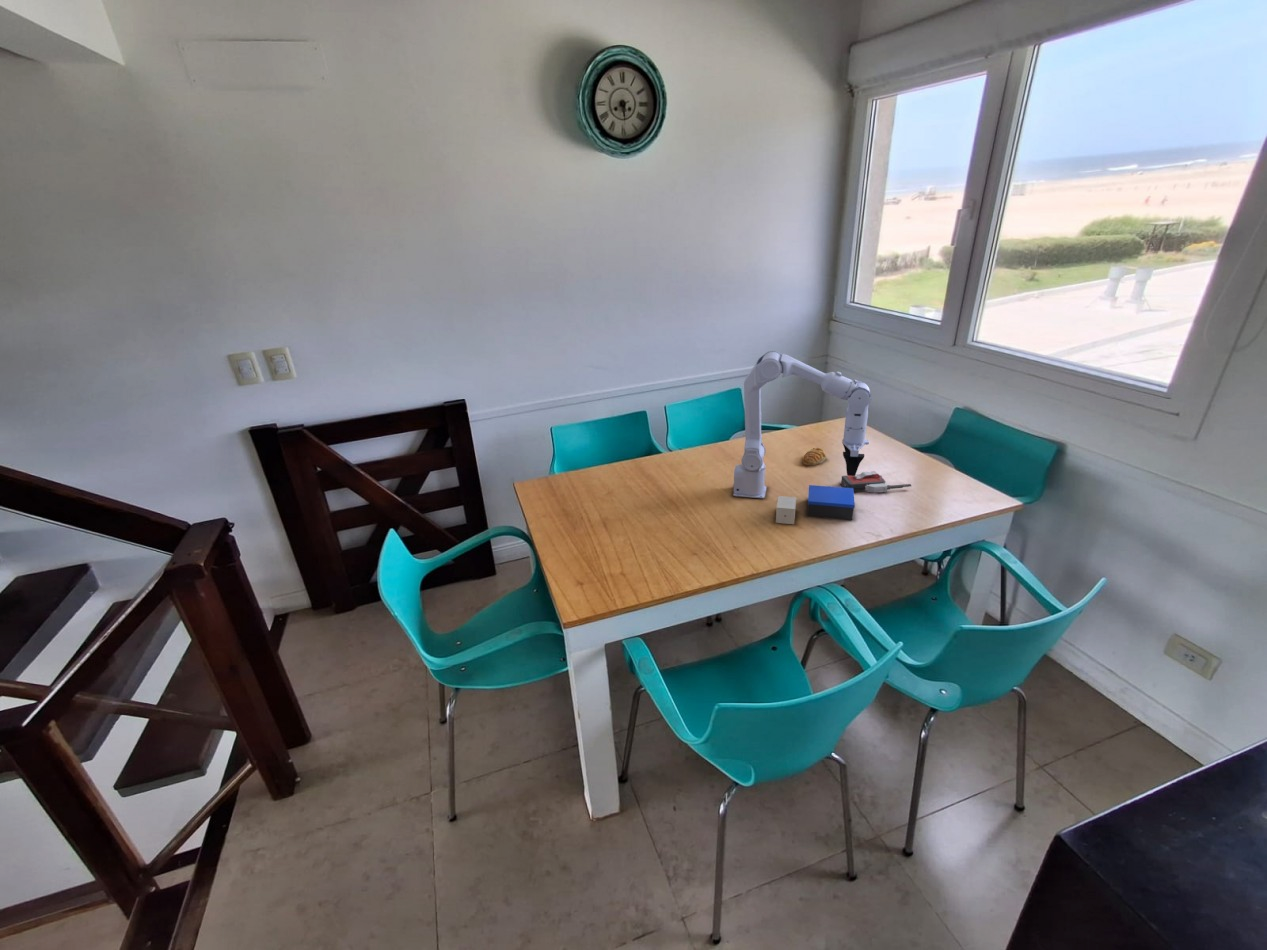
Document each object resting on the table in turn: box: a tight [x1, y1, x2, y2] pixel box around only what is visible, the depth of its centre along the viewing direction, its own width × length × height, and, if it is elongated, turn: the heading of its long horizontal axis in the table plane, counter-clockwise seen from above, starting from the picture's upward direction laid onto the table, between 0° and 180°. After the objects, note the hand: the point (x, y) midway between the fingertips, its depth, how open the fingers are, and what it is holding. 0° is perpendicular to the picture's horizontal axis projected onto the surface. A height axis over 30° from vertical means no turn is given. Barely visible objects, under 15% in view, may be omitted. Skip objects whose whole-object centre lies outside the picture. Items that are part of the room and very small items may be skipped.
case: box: [775, 495, 797, 525], centre depth 159 cm, size 7×5×5 cm
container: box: [807, 484, 856, 521], centre depth 161 cm, size 12×10×5 cm
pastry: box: [802, 447, 828, 467], centre depth 192 cm, size 9×7×4 cm
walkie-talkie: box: [840, 470, 912, 494], centre depth 172 cm, size 9×4×20 cm
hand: (850, 469), depth 163 cm, fingers open, 7 cm apart
